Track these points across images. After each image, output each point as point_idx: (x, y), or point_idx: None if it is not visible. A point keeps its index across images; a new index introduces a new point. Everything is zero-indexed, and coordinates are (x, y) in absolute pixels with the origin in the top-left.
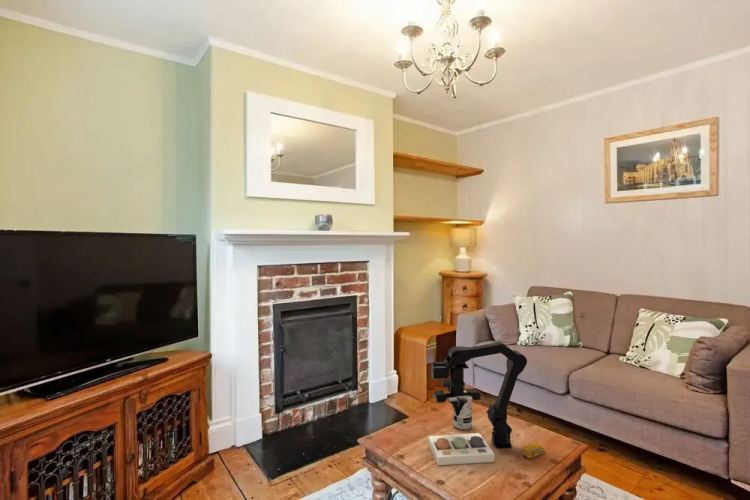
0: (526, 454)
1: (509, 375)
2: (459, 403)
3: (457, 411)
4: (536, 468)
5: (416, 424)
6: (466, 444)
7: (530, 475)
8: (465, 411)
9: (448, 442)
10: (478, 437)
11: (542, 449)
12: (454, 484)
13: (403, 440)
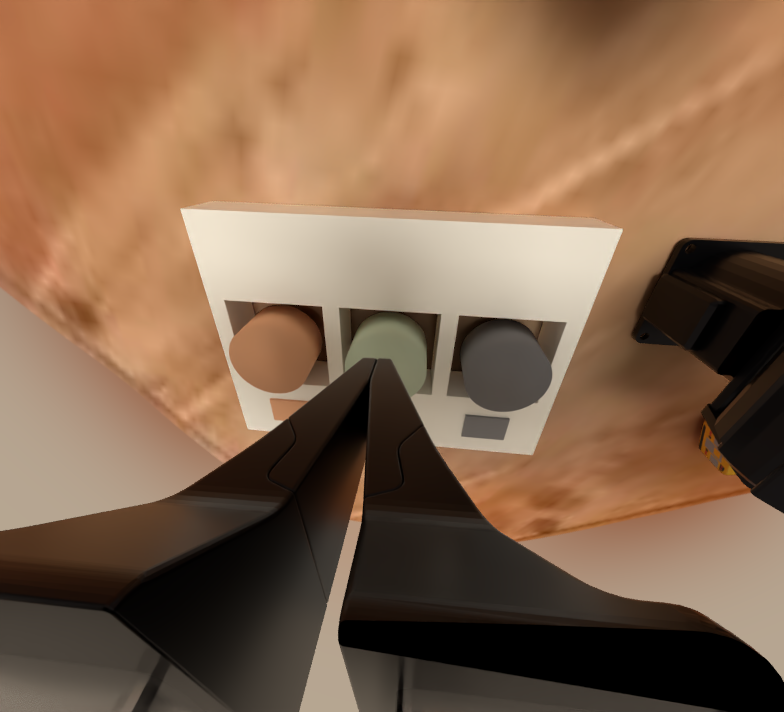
0: (708, 453)
1: None
2: (372, 640)
3: (358, 468)
4: (661, 485)
5: None
6: (437, 341)
7: (596, 505)
8: None
9: (303, 382)
10: (532, 365)
11: None
12: None
13: (24, 125)
